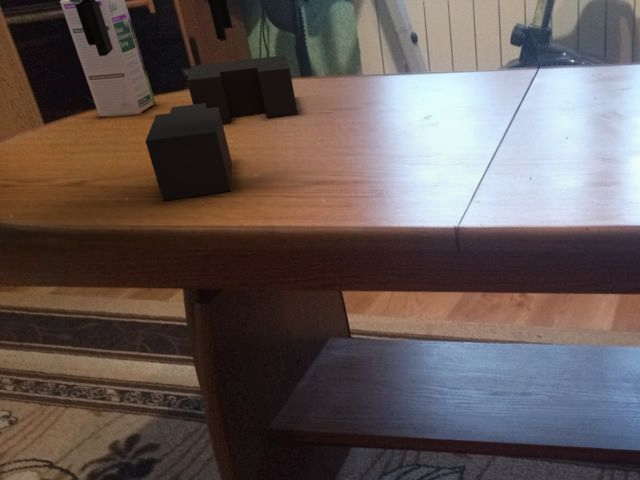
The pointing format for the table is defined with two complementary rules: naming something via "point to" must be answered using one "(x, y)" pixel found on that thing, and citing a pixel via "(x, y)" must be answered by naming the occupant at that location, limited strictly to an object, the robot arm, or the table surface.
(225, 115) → the block
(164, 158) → the block
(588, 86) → the table surface
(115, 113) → the syrup box
